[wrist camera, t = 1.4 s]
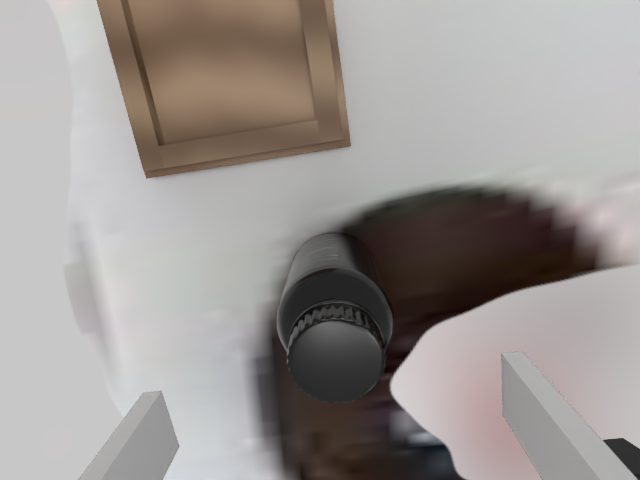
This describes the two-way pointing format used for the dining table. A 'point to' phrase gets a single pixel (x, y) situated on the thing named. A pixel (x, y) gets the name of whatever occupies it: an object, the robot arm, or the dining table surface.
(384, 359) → the supplement bottle
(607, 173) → the dining table surface
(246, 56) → the walnut tray
